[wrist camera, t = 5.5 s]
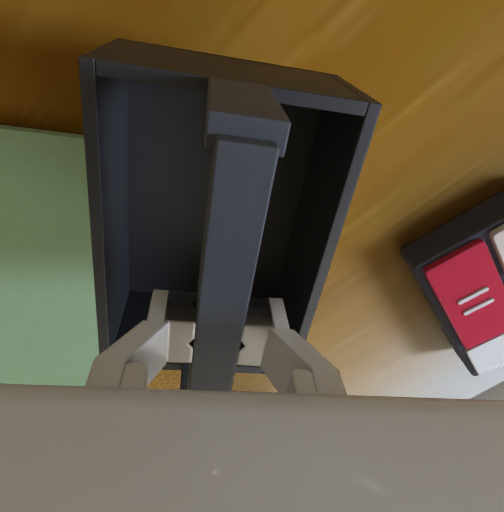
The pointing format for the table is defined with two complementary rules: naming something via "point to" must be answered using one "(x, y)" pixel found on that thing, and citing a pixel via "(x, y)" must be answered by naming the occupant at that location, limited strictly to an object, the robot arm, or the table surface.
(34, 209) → the desk mat
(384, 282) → the table surface
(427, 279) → the calculator
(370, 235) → the table surface
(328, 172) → the caddy bin
